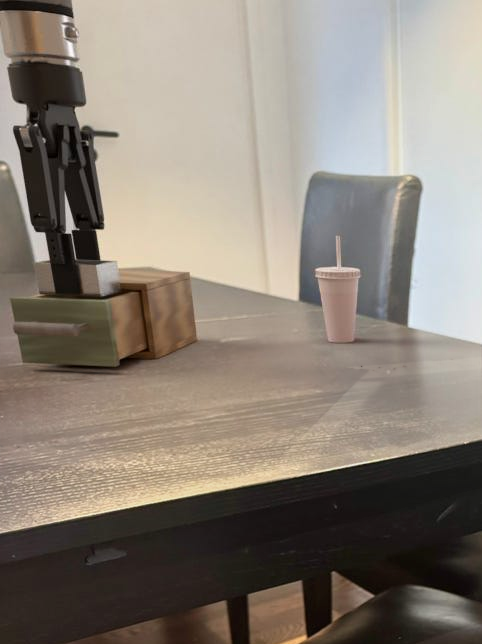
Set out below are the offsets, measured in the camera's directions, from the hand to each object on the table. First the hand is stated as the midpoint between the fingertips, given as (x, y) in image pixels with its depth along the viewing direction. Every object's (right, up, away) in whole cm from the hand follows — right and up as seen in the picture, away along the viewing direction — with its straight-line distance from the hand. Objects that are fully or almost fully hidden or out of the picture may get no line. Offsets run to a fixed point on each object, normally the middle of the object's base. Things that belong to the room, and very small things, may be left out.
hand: (80, 290), depth 109 cm
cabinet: (+1, -2, +14) cm, 14 cm away
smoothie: (+28, +1, +23) cm, 36 cm away
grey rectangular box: (0, 0, 0) cm, 0 cm away
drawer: (0, -7, +2) cm, 8 cm away
